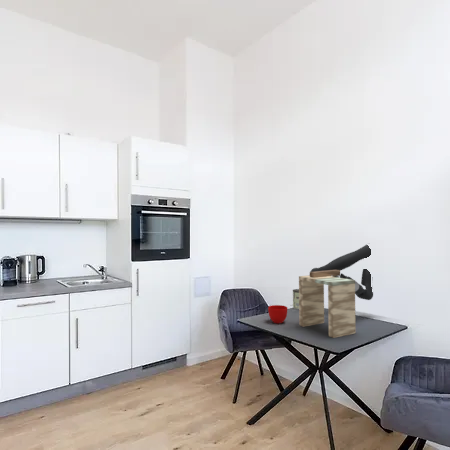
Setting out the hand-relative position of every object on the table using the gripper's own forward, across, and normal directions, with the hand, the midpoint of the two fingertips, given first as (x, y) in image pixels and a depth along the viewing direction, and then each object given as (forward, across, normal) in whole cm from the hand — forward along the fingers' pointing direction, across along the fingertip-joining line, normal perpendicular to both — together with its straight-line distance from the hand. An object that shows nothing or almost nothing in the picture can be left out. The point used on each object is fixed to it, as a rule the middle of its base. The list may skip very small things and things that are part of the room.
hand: (336, 274), depth 230 cm
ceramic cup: (+11, -23, +44) cm, 51 cm away
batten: (+8, 0, +6) cm, 10 cm away
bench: (-2, +7, +36) cm, 37 cm away
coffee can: (-23, -46, +25) cm, 57 cm away
